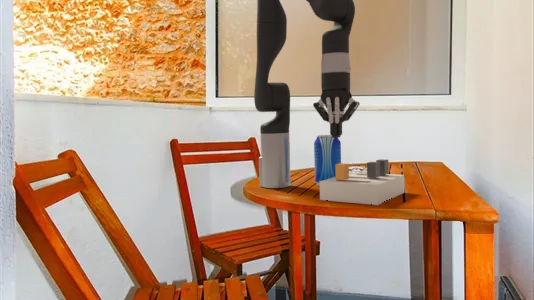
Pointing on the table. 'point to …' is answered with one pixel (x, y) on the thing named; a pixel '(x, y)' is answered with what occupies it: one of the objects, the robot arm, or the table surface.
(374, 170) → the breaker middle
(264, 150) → the robot arm
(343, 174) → the block
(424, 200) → the table surface
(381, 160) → the block
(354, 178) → the breaker panel
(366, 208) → the table surface
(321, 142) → the beer can
